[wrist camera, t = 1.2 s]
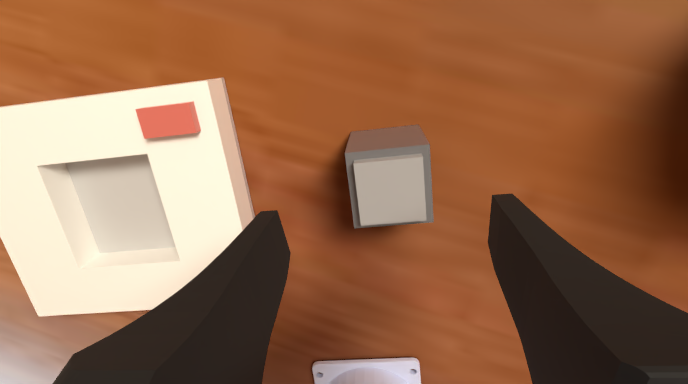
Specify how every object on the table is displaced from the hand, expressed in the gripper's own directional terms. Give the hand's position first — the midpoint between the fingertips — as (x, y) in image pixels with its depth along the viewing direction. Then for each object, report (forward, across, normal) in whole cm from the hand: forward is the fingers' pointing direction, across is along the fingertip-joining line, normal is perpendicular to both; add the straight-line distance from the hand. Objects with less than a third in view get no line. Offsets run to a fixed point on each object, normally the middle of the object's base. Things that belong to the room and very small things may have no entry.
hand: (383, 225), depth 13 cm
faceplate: (+9, +17, +4) cm, 20 cm away
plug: (+10, 0, +4) cm, 11 cm away
